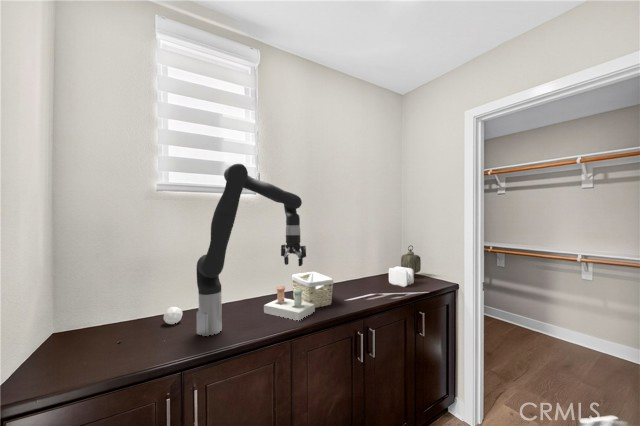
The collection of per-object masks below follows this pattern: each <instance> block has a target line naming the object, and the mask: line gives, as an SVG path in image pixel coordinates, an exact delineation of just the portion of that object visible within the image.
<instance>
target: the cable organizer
mask: <svg viewBox="0 0 640 426" xmlns="http://www.w3.org/2000/svg"><path fill="white" fill-rule="evenodd" d="M414 276H415V274H414V271H413V269H411V268H405V267H401V266H398V265H397V266H394V267H389V268H388V282H389V284H391V285H392V286H399V287H403V288H405V287H408V285H409V286H410V285H413V284H414V282H415V278H414Z"/></svg>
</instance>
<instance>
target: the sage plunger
mask: <svg viewBox="0 0 640 426" xmlns="http://www.w3.org/2000/svg"><path fill="white" fill-rule="evenodd" d="M292 292H293V293H294V296H293V300H294V305H296V306H299V305H302V294H301V293H302V290H301V289H295V290H293V289H292Z"/></svg>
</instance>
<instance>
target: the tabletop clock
mask: <svg viewBox="0 0 640 426" xmlns="http://www.w3.org/2000/svg"><path fill="white" fill-rule="evenodd" d="M410 247H412V249H411V248H410ZM407 250H408V252H407V253H405V254H402V255H401V257H400V267H405V268H411V269H413V271H414V279H415V274H417V273H419V272H420V271H421V270H422V269H421V266H422V265H421V264H422V262H421V261H422V259H421V256H420V255H419V254H415V253H414V251H413V250H414V247H413V245H408V247H407Z"/></svg>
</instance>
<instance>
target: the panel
mask: <svg viewBox="0 0 640 426" xmlns="http://www.w3.org/2000/svg"><path fill="white" fill-rule="evenodd" d="M315 310H316V308H315V304H312V303H307V302H302V305H299V306H296V305H294V299H291V298H286V297H284V302H278V298H276V299H275V300H273V301H270V302H268V303H266V304H264V305H263V313H264V314H268V315H271V316H276V317H279V316H280V318H283V317H284V319H287V318H289V319H288V320H292V319H293V321H296V320H298V321H297V322H300V321H302V320H304V319H305V318H307V317H309V316H311V315H312V314H314V313H315ZM313 312H314V313H313ZM308 315H309V316H308ZM306 316H307V317H306ZM304 317H305V318H304ZM303 318H304V319H303ZM301 319H302V320H301ZM299 320H300V321H299Z"/></svg>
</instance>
